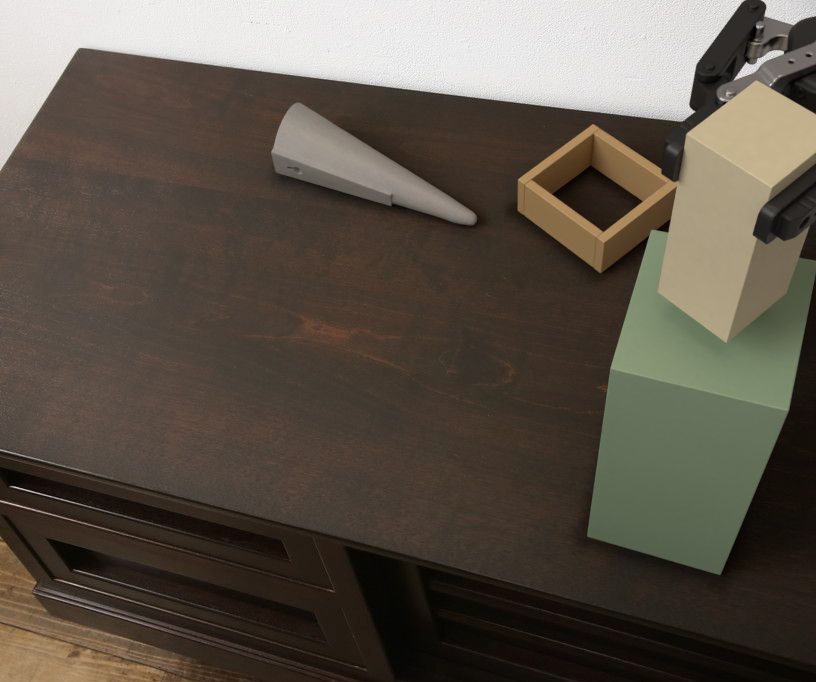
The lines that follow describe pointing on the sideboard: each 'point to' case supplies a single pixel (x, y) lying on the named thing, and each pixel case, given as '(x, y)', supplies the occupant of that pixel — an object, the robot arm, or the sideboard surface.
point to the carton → (735, 210)
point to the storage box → (617, 166)
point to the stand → (691, 420)
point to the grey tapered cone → (354, 167)
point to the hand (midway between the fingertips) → (715, 195)
